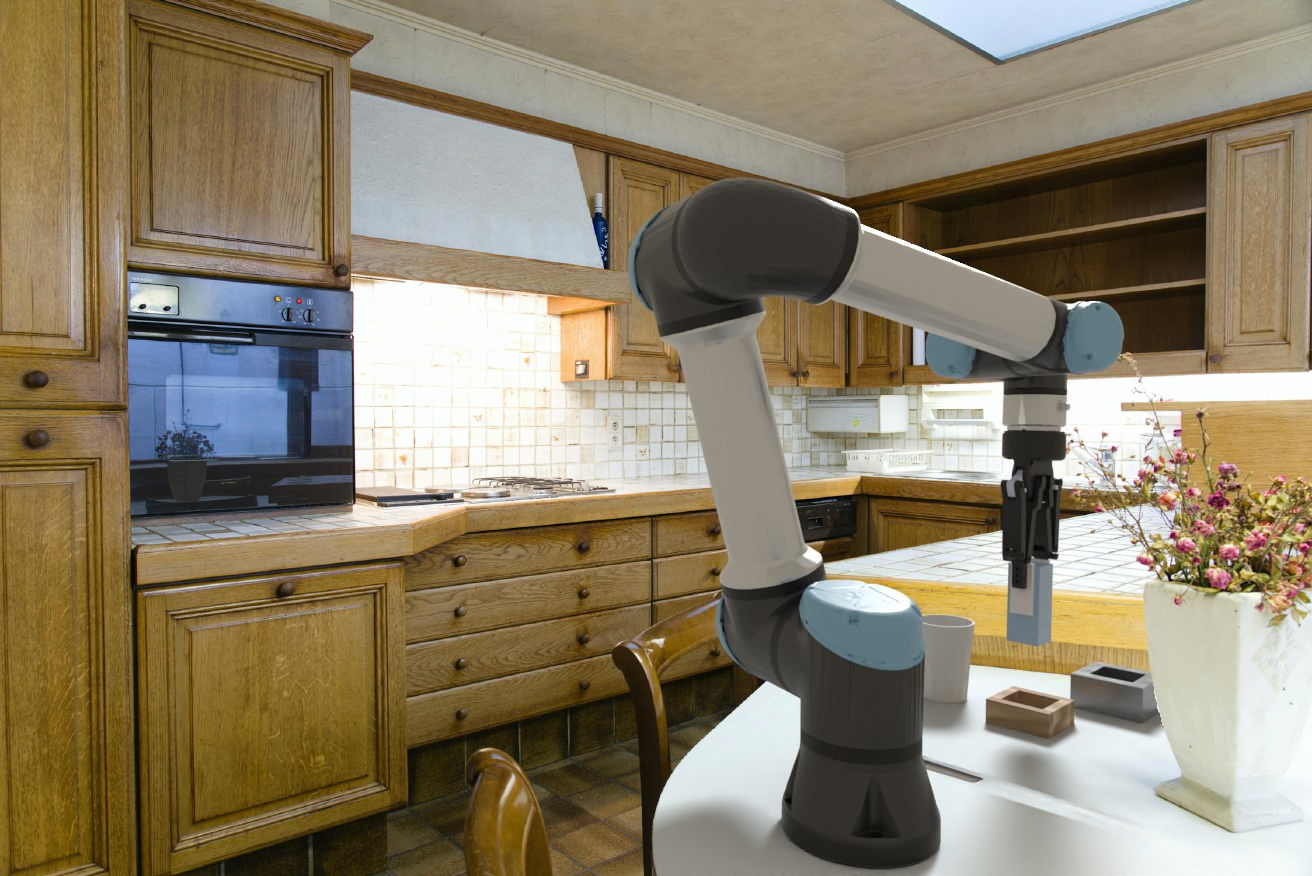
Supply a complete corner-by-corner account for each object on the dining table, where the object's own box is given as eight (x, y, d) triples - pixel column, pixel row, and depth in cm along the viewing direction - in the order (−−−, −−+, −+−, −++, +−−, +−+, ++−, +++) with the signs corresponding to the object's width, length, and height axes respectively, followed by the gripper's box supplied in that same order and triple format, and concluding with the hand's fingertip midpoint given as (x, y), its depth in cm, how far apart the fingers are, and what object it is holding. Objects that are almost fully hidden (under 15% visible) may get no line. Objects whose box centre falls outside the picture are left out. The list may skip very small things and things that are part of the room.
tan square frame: (1048, 742, 105) (1049, 714, 105) (985, 725, 111) (985, 698, 111) (1074, 727, 111) (1074, 700, 111) (1012, 711, 117) (1013, 686, 117)
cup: (982, 714, 118) (983, 627, 118) (923, 714, 118) (924, 626, 118) (962, 696, 126) (963, 614, 126) (907, 695, 126) (908, 613, 126)
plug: (1037, 646, 108) (1039, 566, 108) (1006, 640, 111) (1008, 562, 111) (1050, 641, 111) (1053, 563, 111) (1019, 635, 114) (1021, 559, 113)
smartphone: (885, 730, 111) (1001, 761, 100) (885, 736, 111) (1001, 768, 100) (855, 745, 106) (974, 780, 95) (855, 751, 106) (974, 787, 95)
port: (1142, 727, 111) (1143, 688, 111) (1070, 709, 118) (1070, 673, 118) (1164, 711, 117) (1165, 674, 117) (1094, 695, 124) (1095, 661, 124)
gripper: (1035, 428, 102) (1030, 626, 102) (1090, 430, 114) (1085, 607, 114) (974, 427, 107) (970, 615, 108) (1032, 429, 119) (1028, 598, 119)
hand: (1029, 610), depth 111 cm, fingers closed on plug, 4 cm apart
